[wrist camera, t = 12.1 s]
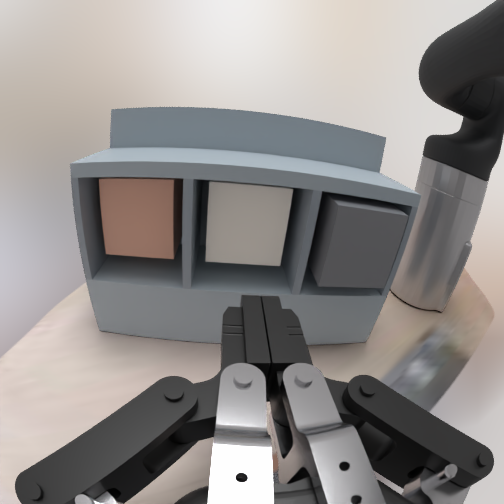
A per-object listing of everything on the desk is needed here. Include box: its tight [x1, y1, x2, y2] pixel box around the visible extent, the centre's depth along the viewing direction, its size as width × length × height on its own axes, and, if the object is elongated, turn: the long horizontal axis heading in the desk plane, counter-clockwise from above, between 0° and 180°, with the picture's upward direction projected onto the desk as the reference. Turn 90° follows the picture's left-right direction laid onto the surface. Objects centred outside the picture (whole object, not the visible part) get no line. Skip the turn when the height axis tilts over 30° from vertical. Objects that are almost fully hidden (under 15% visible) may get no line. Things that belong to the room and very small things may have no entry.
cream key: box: [205, 180, 293, 266], centre depth 22 cm, size 5×6×6 cm
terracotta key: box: [99, 177, 183, 259], centre depth 21 cm, size 5×6×6 cm
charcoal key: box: [307, 191, 409, 288], centre depth 20 cm, size 5×6×6 cm
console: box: [70, 107, 421, 345], centre depth 23 cm, size 9×25×18 cm, turn 94°
